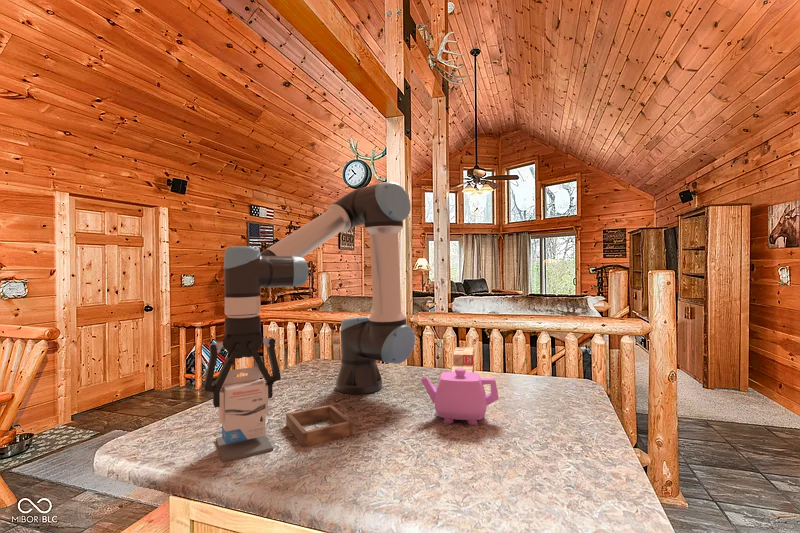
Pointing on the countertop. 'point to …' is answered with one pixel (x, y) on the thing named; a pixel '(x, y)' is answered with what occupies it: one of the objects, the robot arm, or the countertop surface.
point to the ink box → (243, 406)
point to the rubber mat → (243, 448)
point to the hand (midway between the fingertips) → (243, 416)
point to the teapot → (461, 395)
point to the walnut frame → (324, 433)
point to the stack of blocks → (463, 359)
